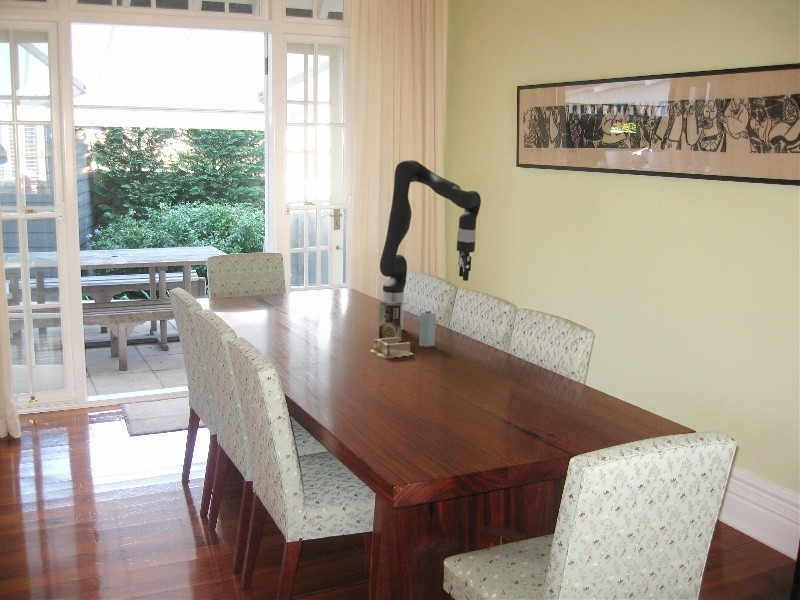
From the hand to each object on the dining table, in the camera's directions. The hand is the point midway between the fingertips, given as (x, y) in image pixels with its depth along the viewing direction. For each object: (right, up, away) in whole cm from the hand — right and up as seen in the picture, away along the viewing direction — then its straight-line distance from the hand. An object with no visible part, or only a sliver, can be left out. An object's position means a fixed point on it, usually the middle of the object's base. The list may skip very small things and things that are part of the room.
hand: (463, 278), depth 367 cm
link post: (-15, -28, -2) cm, 32 cm away
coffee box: (-31, -26, +5) cm, 41 cm away
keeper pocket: (-29, -30, -16) cm, 45 cm away
